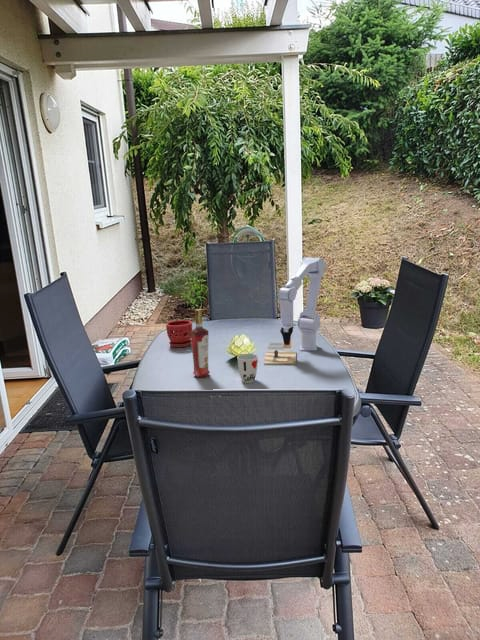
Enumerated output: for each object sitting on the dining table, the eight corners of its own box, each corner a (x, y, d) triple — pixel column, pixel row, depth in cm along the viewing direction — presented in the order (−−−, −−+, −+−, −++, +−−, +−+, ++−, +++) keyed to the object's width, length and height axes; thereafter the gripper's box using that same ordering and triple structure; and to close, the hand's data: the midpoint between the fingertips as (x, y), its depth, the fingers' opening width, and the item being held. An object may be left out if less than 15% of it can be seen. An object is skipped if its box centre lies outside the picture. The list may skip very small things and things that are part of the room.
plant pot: (195, 341, 249) (194, 319, 247) (190, 348, 237) (188, 325, 234) (170, 341, 251) (169, 319, 248) (164, 348, 238) (163, 325, 235)
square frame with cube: (291, 345, 219) (291, 334, 218) (290, 349, 212) (290, 338, 211) (269, 345, 220) (269, 334, 219) (268, 349, 214) (267, 338, 212)
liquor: (201, 371, 203) (198, 307, 197) (214, 374, 198) (211, 309, 192) (189, 376, 197) (185, 310, 191) (201, 379, 193) (198, 312, 186)
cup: (241, 385, 186) (240, 360, 184) (235, 378, 193) (235, 354, 191) (260, 382, 188) (260, 358, 186) (254, 376, 195) (254, 352, 193)
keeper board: (266, 352, 227) (266, 344, 226) (296, 352, 225) (296, 344, 224) (263, 364, 209) (263, 356, 208) (295, 364, 208) (295, 356, 207)
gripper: (295, 318, 205) (295, 348, 208) (296, 311, 219) (296, 339, 222) (278, 317, 206) (279, 348, 209) (281, 310, 220) (281, 339, 223)
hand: (287, 343), depth 215 cm, fingers closed on square frame with cube, 3 cm apart
